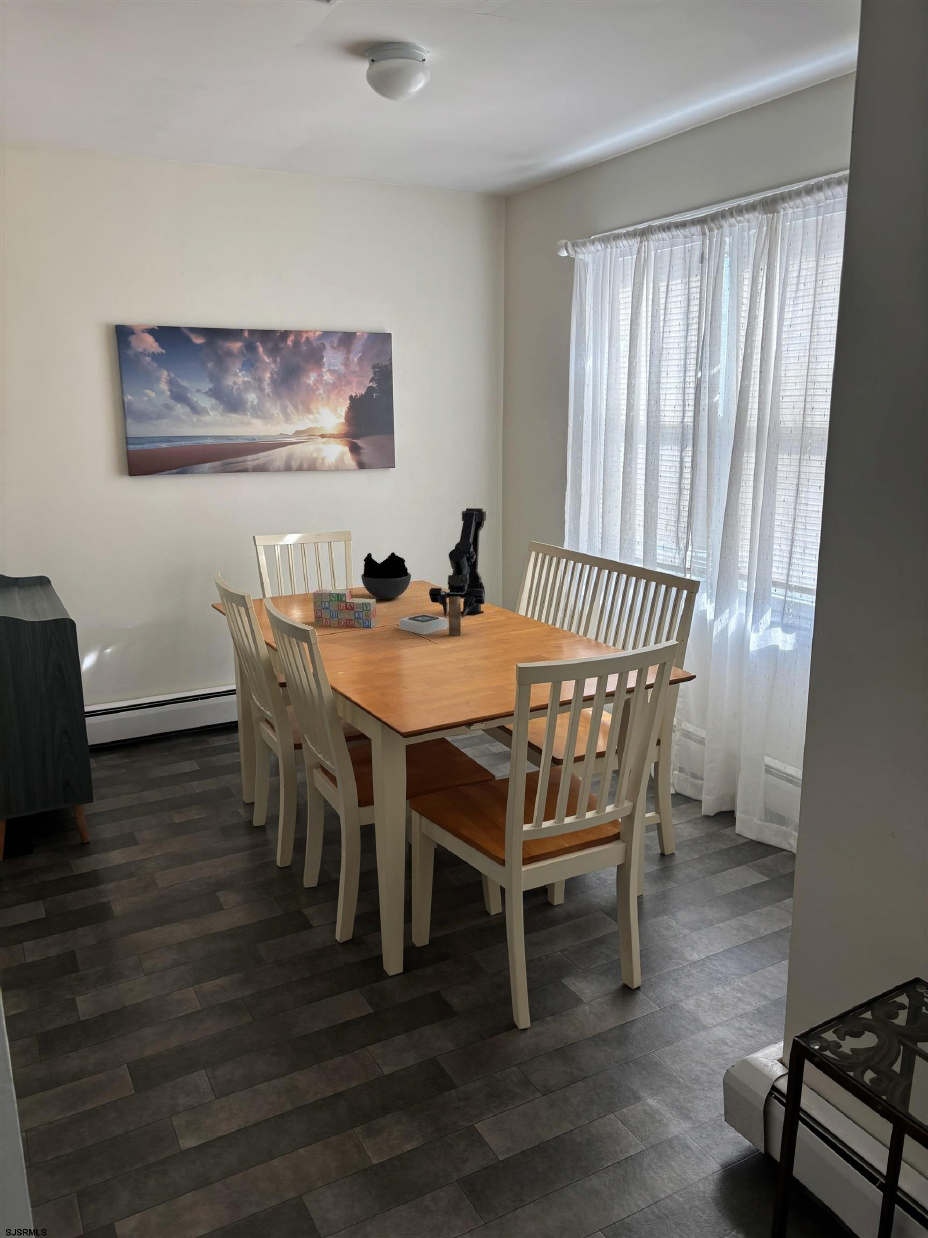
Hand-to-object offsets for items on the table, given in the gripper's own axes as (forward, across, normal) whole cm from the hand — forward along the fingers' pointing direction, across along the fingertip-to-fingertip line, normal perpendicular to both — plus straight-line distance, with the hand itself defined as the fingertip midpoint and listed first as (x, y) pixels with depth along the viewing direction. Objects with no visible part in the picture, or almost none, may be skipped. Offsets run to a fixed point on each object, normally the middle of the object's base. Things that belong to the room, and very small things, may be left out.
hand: (453, 616), depth 304 cm
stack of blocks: (-2, -41, +12) cm, 43 cm away
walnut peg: (+4, 0, +6) cm, 7 cm away
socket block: (-1, -12, +10) cm, 16 cm away
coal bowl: (-34, -38, +44) cm, 67 cm away
